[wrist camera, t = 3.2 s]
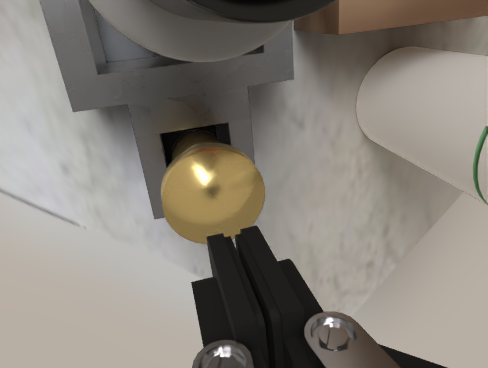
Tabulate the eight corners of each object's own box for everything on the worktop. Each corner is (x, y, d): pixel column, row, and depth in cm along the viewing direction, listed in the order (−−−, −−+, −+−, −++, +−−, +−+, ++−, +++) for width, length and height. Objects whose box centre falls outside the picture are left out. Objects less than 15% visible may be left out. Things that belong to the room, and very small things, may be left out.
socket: (20, -148, 17) (-22, -203, 13) (250, -155, 19) (283, -206, 15) (114, 190, 25) (108, 228, 20) (272, 160, 27) (297, 190, 22)
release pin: (149, 122, 20) (152, 161, 14) (231, 109, 20) (260, 141, 15) (165, 196, 22) (172, 253, 16) (239, 181, 22) (268, 232, 17)
